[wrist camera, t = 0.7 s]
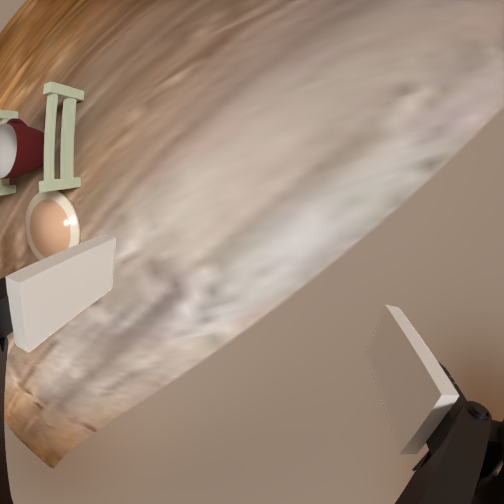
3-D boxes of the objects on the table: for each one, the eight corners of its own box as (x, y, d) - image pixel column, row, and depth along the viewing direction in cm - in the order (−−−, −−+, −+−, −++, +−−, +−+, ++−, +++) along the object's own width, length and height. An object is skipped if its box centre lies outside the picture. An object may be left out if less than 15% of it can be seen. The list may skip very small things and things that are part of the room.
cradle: (13, 113, 39) (-18, 110, 31) (84, 91, 37) (51, 81, 29) (11, 193, 42) (-20, 199, 35) (80, 186, 41) (46, 191, 33)
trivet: (25, 191, 42) (22, 192, 41) (78, 187, 41) (74, 187, 40) (32, 264, 45) (29, 265, 44) (84, 269, 44) (81, 271, 43)
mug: (19, 143, 40) (-22, 143, 30) (43, 107, 38) (1, 101, 28) (42, 184, 41) (-1, 191, 32) (68, 149, 39) (24, 148, 30)
